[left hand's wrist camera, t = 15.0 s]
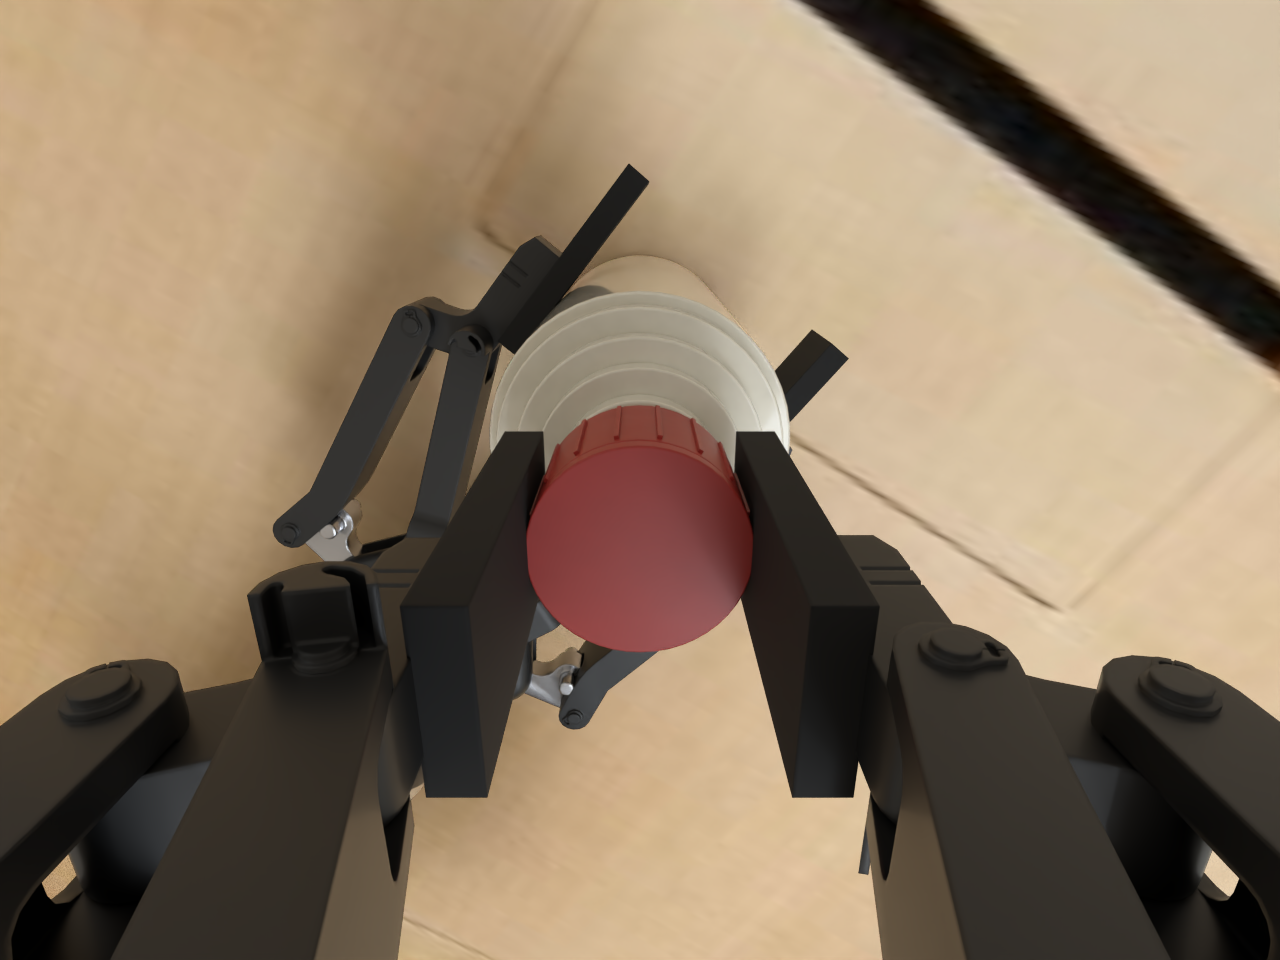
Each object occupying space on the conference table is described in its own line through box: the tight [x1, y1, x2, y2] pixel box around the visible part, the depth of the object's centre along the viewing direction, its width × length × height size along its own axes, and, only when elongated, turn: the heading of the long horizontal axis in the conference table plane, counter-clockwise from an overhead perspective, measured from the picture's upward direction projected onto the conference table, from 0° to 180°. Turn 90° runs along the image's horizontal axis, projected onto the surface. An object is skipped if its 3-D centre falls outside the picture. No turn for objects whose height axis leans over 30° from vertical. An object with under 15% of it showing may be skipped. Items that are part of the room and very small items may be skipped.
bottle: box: [489, 255, 790, 473], centre depth 21 cm, size 7×7×18 cm
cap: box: [526, 405, 753, 652], centre depth 13 cm, size 4×4×2 cm
